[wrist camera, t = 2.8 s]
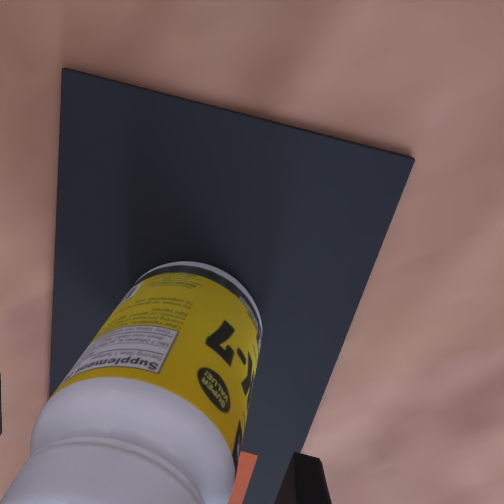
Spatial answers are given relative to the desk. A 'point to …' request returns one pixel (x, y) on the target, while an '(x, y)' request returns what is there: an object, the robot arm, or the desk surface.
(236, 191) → the place mat
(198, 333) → the supplement bottle
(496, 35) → the desk surface
